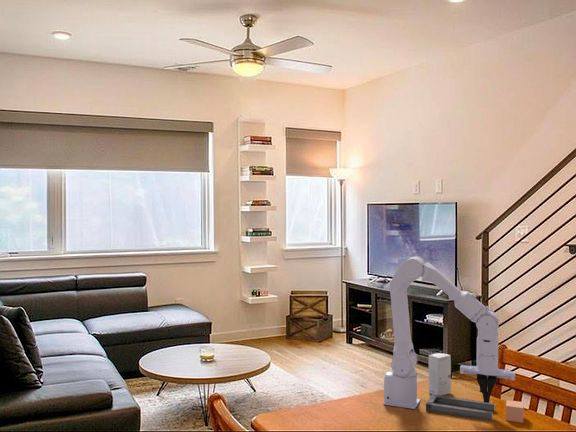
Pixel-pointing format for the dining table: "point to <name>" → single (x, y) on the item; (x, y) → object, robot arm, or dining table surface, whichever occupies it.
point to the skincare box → (440, 374)
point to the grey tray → (460, 407)
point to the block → (514, 411)
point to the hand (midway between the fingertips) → (486, 401)
